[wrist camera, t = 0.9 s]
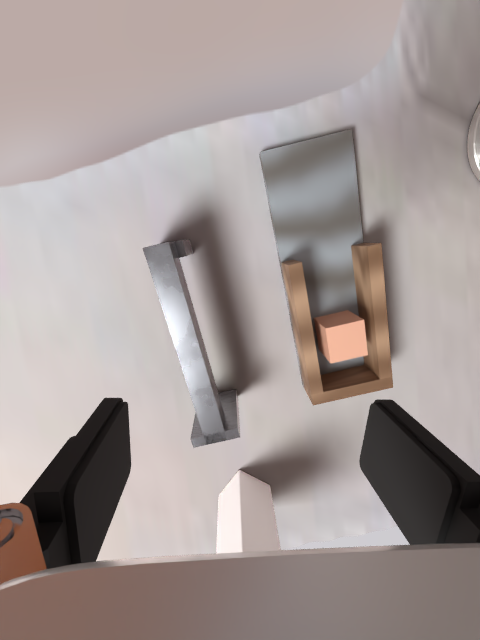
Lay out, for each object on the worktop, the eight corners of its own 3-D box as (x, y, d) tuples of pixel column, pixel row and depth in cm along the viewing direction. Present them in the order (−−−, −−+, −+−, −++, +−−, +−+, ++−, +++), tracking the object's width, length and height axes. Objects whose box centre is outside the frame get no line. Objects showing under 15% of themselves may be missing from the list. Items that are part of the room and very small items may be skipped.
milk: (218, 494, 44) (205, 733, 22) (239, 468, 42) (247, 696, 21) (249, 509, 45) (266, 751, 24) (271, 484, 43) (309, 716, 22)
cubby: (259, 154, 30) (265, 138, 26) (348, 132, 30) (370, 111, 25) (302, 384, 39) (313, 405, 34) (372, 369, 38) (392, 387, 34)
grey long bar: (151, 249, 33) (126, 252, 25) (195, 238, 33) (184, 237, 25) (200, 404, 39) (193, 447, 31) (237, 396, 39) (240, 437, 31)
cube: (313, 317, 35) (325, 328, 31) (347, 310, 35) (364, 319, 31) (318, 349, 36) (330, 363, 32) (351, 341, 36) (367, 355, 32)
